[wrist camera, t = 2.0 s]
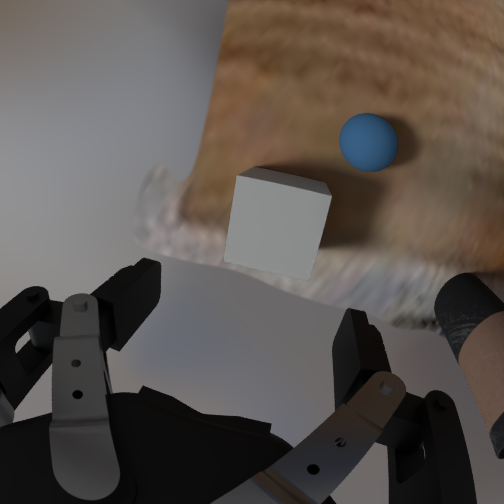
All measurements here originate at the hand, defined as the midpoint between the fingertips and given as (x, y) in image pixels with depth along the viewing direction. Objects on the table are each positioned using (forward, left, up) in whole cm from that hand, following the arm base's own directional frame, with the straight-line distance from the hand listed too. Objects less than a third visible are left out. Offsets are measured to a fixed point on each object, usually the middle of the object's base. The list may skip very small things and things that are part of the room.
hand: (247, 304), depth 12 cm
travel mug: (-23, +5, -17) cm, 29 cm away
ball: (-6, -8, -14) cm, 18 cm away
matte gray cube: (0, 0, -17) cm, 17 cm away
